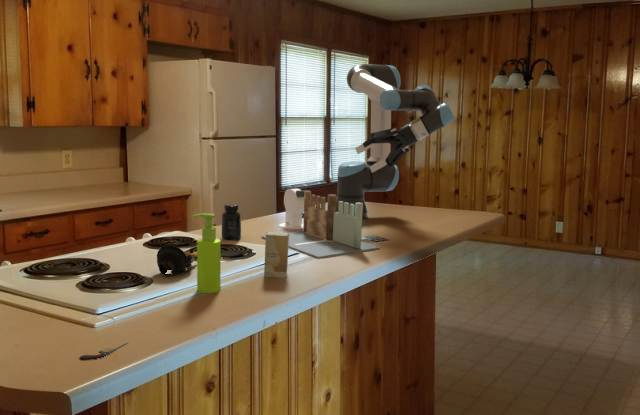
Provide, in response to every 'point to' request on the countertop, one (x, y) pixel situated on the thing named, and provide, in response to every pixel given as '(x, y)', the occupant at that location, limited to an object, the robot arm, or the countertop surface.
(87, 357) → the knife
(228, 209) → the supplement bottle
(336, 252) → the card
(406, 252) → the countertop surface
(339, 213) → the fence panel
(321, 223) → the fence fixed
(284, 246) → the skincare box
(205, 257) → the soap dispenser
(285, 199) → the panda figurine
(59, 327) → the countertop surface
